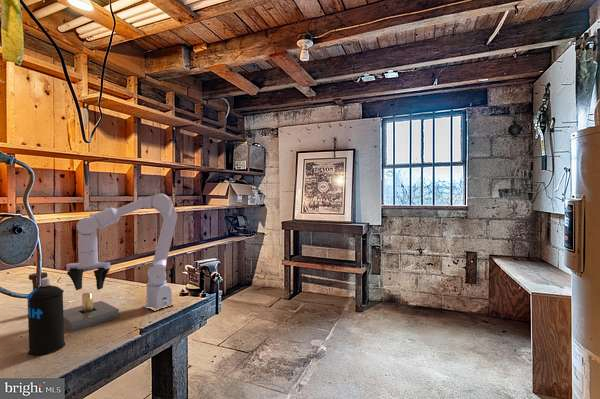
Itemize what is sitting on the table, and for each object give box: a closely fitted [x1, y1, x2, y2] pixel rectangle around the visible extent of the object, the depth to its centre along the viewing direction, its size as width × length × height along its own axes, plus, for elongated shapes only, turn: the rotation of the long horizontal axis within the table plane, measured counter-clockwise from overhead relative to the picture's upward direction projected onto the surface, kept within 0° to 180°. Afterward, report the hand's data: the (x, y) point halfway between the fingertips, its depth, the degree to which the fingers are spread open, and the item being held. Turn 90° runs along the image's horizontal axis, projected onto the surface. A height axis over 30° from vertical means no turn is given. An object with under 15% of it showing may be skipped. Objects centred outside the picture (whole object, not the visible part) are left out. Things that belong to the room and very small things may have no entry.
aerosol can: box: [26, 277, 66, 357], centre depth 87 cm, size 8×8×20 cm
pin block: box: [63, 300, 120, 333], centre depth 109 cm, size 16×14×3 cm
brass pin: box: [81, 291, 94, 314], centre depth 109 cm, size 3×3×9 cm
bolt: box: [28, 271, 48, 291], centre depth 115 cm, size 6×5×15 cm
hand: (89, 289), depth 110 cm, fingers open, 7 cm apart
